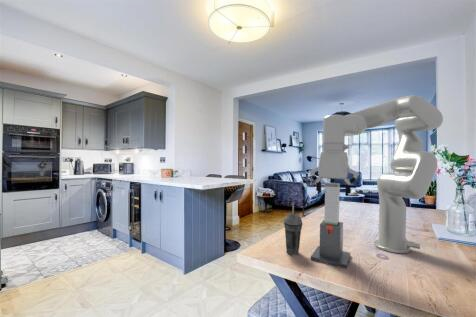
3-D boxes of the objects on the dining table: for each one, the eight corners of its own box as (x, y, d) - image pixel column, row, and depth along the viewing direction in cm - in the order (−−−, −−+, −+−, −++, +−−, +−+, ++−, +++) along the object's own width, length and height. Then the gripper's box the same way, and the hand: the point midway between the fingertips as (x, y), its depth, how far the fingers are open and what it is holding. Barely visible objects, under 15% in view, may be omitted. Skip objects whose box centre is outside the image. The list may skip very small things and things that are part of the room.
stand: (350, 255, 89) (351, 222, 89) (346, 268, 79) (347, 230, 78) (318, 248, 95) (318, 217, 95) (310, 259, 85) (311, 224, 85)
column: (338, 237, 88) (339, 183, 87) (336, 241, 84) (338, 184, 83) (326, 235, 90) (327, 182, 90) (323, 238, 86) (325, 183, 86)
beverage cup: (302, 250, 93) (303, 200, 93) (301, 257, 87) (302, 204, 86) (284, 247, 96) (285, 199, 96) (281, 254, 89) (282, 202, 89)
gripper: (360, 148, 85) (359, 194, 85) (312, 149, 94) (311, 190, 94) (358, 148, 79) (358, 198, 79) (307, 148, 88) (306, 193, 88)
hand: (332, 194), depth 87 cm, fingers open, 9 cm apart
